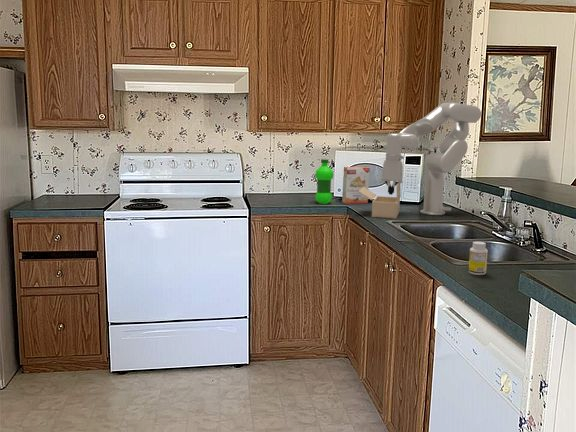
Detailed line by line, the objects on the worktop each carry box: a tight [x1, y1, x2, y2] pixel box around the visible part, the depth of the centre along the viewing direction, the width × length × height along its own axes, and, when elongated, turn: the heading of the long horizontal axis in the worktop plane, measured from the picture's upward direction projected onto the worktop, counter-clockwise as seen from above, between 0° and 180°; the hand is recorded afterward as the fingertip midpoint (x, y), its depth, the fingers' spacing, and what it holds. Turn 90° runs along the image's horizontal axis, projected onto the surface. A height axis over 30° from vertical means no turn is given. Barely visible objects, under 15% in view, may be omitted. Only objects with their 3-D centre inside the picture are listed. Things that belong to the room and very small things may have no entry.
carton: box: [371, 195, 401, 220], centre depth 300 cm, size 12×21×8 cm, turn 165°
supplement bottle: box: [468, 241, 489, 276], centre depth 191 cm, size 6×6×10 cm
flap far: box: [358, 187, 377, 201], centre depth 301 cm, size 8×18×1 cm
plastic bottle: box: [314, 158, 334, 205], centre depth 333 cm, size 10×10×25 cm
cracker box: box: [341, 166, 371, 205], centre depth 336 cm, size 14×6×21 cm, turn 105°
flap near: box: [396, 183, 402, 201], centre depth 297 cm, size 8×18×1 cm
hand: (390, 194), depth 298 cm, fingers closed
